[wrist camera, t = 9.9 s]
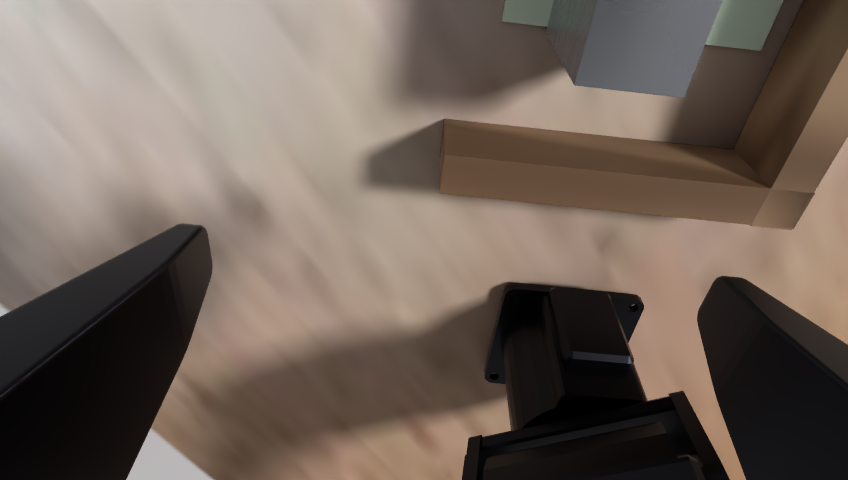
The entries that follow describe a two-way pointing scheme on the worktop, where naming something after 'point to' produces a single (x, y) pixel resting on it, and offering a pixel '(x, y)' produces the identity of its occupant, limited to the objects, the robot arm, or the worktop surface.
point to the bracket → (631, 42)
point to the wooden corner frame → (682, 148)
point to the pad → (733, 27)
